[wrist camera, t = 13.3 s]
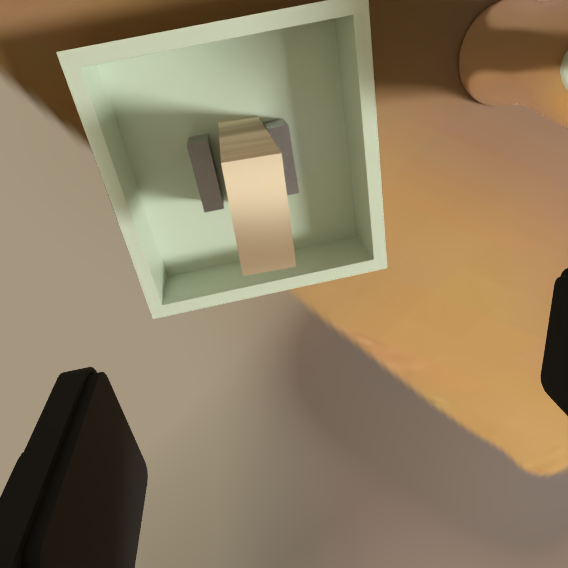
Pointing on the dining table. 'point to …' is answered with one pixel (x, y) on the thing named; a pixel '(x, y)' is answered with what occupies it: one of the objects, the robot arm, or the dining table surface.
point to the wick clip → (208, 172)
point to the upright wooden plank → (256, 195)
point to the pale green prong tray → (204, 120)
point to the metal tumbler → (519, 57)
